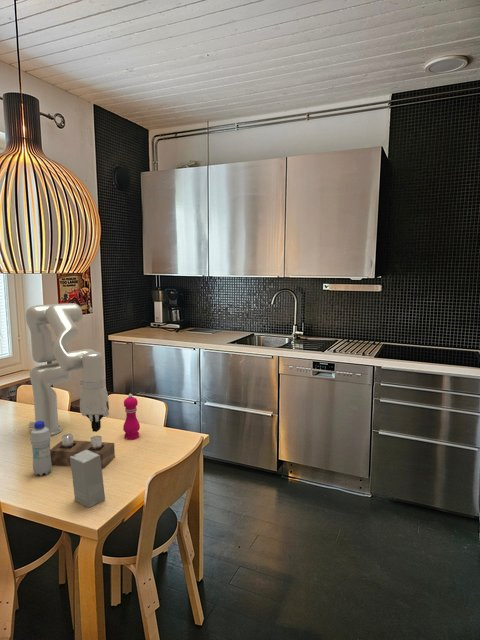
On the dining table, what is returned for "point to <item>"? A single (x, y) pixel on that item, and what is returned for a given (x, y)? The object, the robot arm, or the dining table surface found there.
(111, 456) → the socket block
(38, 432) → the bottle
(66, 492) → the dining table surface
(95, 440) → the peg
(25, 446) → the dining table surface
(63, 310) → the robot arm
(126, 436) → the pepper mill
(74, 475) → the skincare box
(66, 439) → the peg
